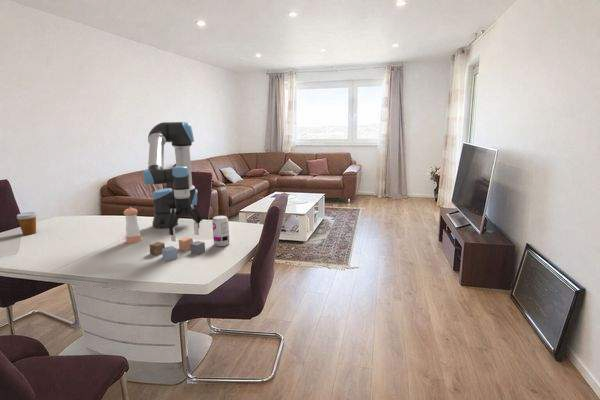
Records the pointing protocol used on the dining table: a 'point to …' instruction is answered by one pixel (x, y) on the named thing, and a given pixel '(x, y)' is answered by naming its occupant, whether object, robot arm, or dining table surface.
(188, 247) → the terracotta cube
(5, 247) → the dining table surface
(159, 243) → the walnut cube
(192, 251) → the charcoal cube
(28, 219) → the disposable coffee cup
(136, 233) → the pepper shaker
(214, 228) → the supplement can
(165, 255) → the slate blue cube
